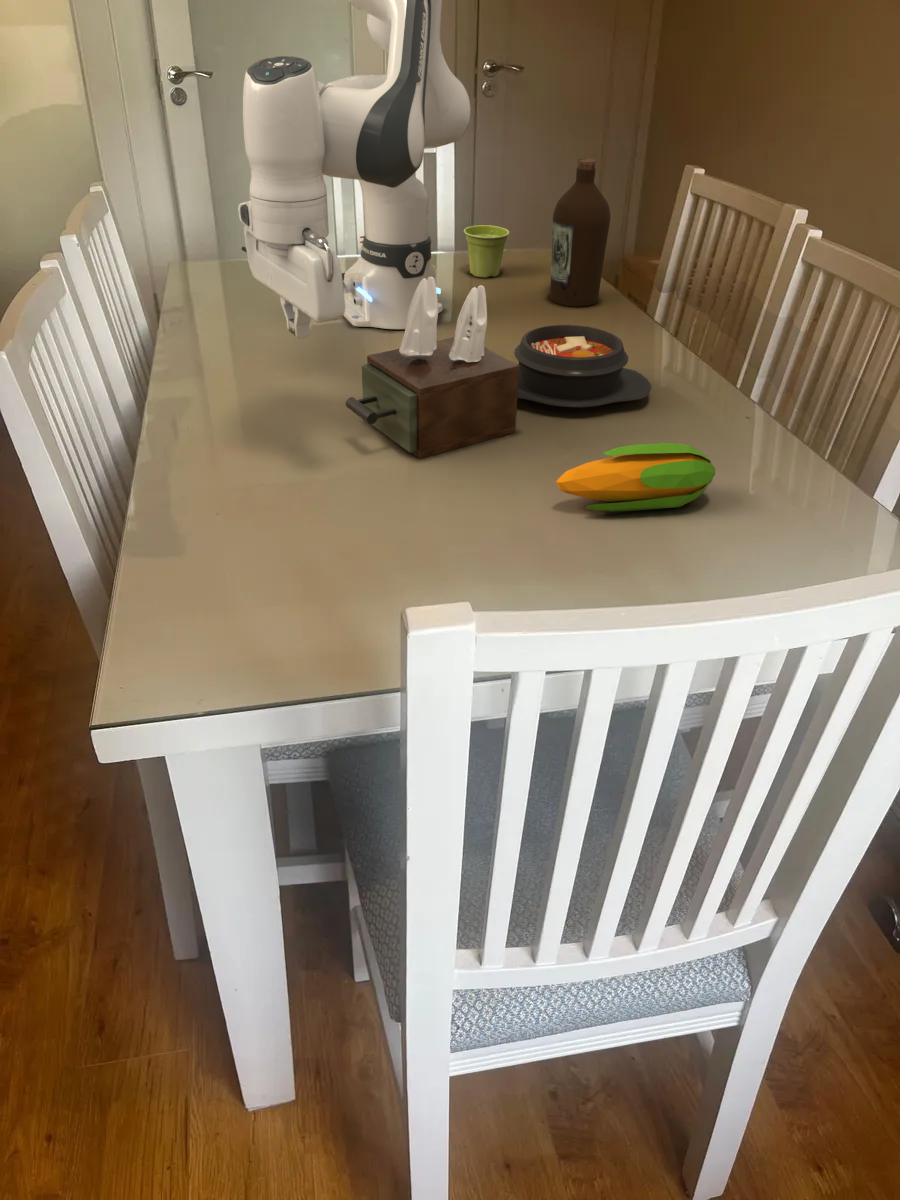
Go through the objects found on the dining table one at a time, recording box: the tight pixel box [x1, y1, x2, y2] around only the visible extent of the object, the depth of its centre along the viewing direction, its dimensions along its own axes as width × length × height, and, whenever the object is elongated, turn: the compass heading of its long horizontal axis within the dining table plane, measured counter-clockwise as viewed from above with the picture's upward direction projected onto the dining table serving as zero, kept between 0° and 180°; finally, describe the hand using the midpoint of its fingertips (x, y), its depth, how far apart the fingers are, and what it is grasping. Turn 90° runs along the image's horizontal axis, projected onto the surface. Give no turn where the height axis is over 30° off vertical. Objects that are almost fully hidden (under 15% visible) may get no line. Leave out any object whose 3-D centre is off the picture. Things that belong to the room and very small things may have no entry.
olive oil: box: [549, 158, 611, 308], centre depth 171 cm, size 11×11×25 cm
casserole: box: [513, 324, 652, 409], centre depth 138 cm, size 25×19×8 cm
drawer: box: [345, 363, 417, 453], centre depth 125 cm, size 19×13×8 cm, turn 123°
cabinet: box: [366, 336, 519, 459], centre depth 127 cm, size 16×14×10 cm
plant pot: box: [463, 224, 510, 279], centre depth 189 cm, size 9×9×9 cm
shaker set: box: [398, 277, 488, 362], centre depth 121 cm, size 12×4×11 cm, turn 99°
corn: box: [555, 442, 716, 513], centre depth 110 cm, size 7×8×20 cm
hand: (298, 334), depth 115 cm, fingers closed
